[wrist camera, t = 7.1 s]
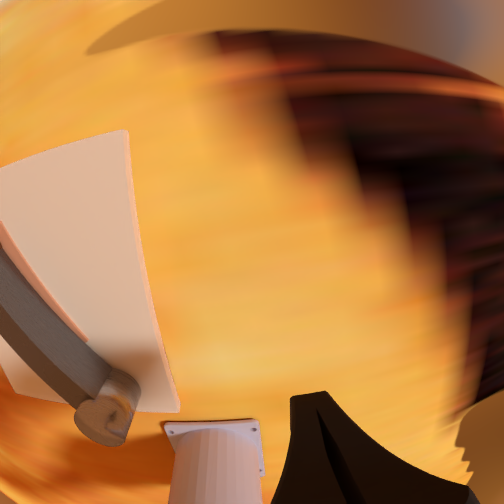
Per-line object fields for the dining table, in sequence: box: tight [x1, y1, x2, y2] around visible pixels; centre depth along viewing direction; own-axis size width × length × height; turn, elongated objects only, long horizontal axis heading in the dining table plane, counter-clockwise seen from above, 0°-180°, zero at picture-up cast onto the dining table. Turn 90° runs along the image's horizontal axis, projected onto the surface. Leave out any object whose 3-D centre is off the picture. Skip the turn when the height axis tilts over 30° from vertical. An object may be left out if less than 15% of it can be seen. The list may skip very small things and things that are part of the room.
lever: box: [0, 242, 141, 447], centre depth 15 cm, size 17×4×5 cm, turn 42°
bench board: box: [0, 129, 181, 413], centre depth 17 cm, size 20×18×1 cm
